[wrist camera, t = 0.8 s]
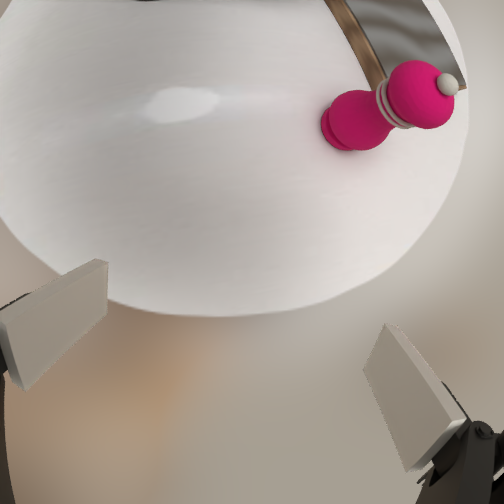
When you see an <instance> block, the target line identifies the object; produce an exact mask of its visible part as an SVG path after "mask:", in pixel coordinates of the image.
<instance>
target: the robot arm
mask: <svg viewBox="0 0 504 504" xmlns="http://www.w3.org/2000/svg"><path fill="white" fill-rule="evenodd" d="M141 1H149V0H141ZM107 282H108V262H105V261H102V260H99V259H94V260H92V261H90V262H88V263H86V264H84V265H82V266H80V267H78V268H76V269H74V270H72V271H70V272H68V273H66V274H64V275H63V276H61V277H59V278H57V279H55V280H53V281H51V282H50V283H48V284H46V285H44V286H42V287H41V288H39V289H37V290H35V291H33V292H31V293H27V294H24V295H23V296H21V297H19V298H17V299H16V300H14V301H12V302H10V304H7V305H5V306H4V307H2V308H0V504H15V500H14V495H13V491H12V486H11V481H10V475H9V469H8V462H7V453H6V442H5V426H4V391H5V390H4V389H5V380H4V376H3V373H4V372H5V371H7V370H8V372H9V374H10V377H11V380H12V382H13V383H14V384H16V385H17V386H18V387H20V388H21V389H23V390H24V391H27V390H28V389H29V388H30V387H31V386H32V385H33V384H34V383H35V382H36V381H37V380H38V379H39V378H40V377H41V376H42V375H43V374H44V373H45V372H46V371H47V370H48V369H49V368H50V367H51V366H52V365H53V364H54V363H55V362H56V361H57V360H58V359H59V358H60V357H61V356H62V355H63V354H64V353H65V352H66V351H67V350H69V349H70V348H71V347H72V346H73V345H74V344H75V343H76V342H77V341H78V340H79V339H80V338H81V337H82V336H83V335H85V334H86V333H87V332H88V331H89V330H90V329H91V328H92V327H93V326H94V325H95V324H97V323H98V322H99V321H100V320H101V319H102V318H103V317H104V316H105V315H107ZM363 371H364V373H365V376H366V378H367V380H368V382H369V384H370V387H371V389H372V391H373V394H374V396H375V398H376V400H377V403H378V405H379V407H380V410H381V412H382V414H383V417H384V419H385V421H386V424H387V426H388V429H389V431H390V434H391V436H392V439H393V441H394V443H395V446H396V449H397V451H398V454H399V456H400V459H401V461H402V464H403V466H404V469H405V472H406V473H408V472H412V471H417V470H421V469H423V467H424V466H425V465H427V464H428V463H429V462H430V460H432V462H433V464H434V466H433V467H432V468H431V469H430V470H429V471H428V472H426V473H425V474H424V475H423V476H422V477H421V478H420V479H419V480H418V482H417V484H419V483H420V482H421V481H422V480H424V479H425V482H424V483H423V484H422V486H423V487H422V490H421V492H420V495H419V497H418V499H417V502H416V504H504V473H503V474H502V475H501V476H500V477H499V478H498V479H497V480H495V481H494V479H493V476H494V475H495V474H496V473H497V472H498V471H499V470H500V469H501V468H502V467H503V466H504V430H503V431H502V433H501V434H499V433H498V434H497V433H494V431H493V430H492V428H491V427H490V426H489V425H488V424H486V423H484V422H482V421H474V422H472V421H471V420H470V418H469V417H468V415H467V414H466V413H465V411H464V409H463V408H462V407H461V405H460V404H459V402H457V401H456V398H455V397H454V395H452V393H451V391H450V390H449V389H448V387H447V386H446V385H445V384H444V383H443V382H442V381H440V380H439V378H438V377H437V376H436V374H435V373H434V372H433V370H432V369H431V368H430V366H429V365H428V364H427V362H426V361H425V360H424V359H423V357H422V356H421V355H420V353H419V352H418V351H417V349H416V348H415V347H414V346H413V345H412V343H411V342H410V341H409V339H408V338H407V337H406V336H405V334H404V333H403V332H402V331H401V330H400V328H399V327H398V326H397V325H392V324H385V323H384V325H383V327H382V330H381V332H380V334H379V337H378V339H377V341H376V343H375V346H374V348H373V350H372V352H371V355H370V356H369V358H368V360H367V363H366V364H365V367H364V369H363Z"/></svg>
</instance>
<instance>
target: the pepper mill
mask: <svg viewBox="0 0 504 504" xmlns="http://www.w3.org/2000/svg"><path fill="white" fill-rule="evenodd" d="M458 89H459V85H458V82H457V80H456V79H455V78H454V77H453V76H452V75H450V74H447V73H443V74H442V73H441V71H439V70H438V69H437V68H436V67H434V66H433V65H431V64H429V63H427V62H424V61H420V60H409V61H406V62H403V63H401V64H399V65H398V66H397V67H395V68H394V70H393V71H392V73H391V75H390V77H388V78H387V79H385V80H383V81H381V82H380V84H379V85H378V87H377V90H374V91H364V90H353V91H348V92H346V93H343V94H341V95H339V96H338V97H337V98H336V99H335V100H334V101H333V103H332V105H331V107H329V108H328V109H327V110H326V111H325V112H324V114H323V116H322V120H321V128H322V132H323V134H324V136H325V138H326V139H327V141H328V142H329V143H330V144H331V145H333V146H334V147H336V148H338V149H340V150H347V151H348V150H353V149H355V150H369V149H372V148H374V147H376V146H378V145H379V144H381V143H382V142H383V141H384V140H385V139H386V137H387V136H388V134H389V132H390V131H391V130H392V129H393V128H395V127H398V128H401V129H409V128H411V127H419V128H423V129H432V128H436V127H439V126H441V125H443V124H444V123H446V122H447V121H448V120H449V118H450V117H451V115H452V113H453V109H454V95H455V94H456V93H457V92H458Z"/></svg>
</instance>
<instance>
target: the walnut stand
mask: <svg viewBox="0 0 504 504" xmlns="http://www.w3.org/2000/svg"><path fill="white" fill-rule="evenodd" d="M324 1H325V2H326V4H327V5H328V7H329V9H330V10H331V12H332V13H333V15H334V17H335V18H336V20H337V22H338V23H339V25H340V27H341V29H342V30H343V32H344V34H345V36H346V38H347V39H348V41H349V43H350V45H351V47H352V49H353V51H354V53H355V55H356V57H357V59H358V61H359V63H360V65H361V67H362V69H363V71H364V73H365V76H366V78H367V80H368V82H369V85H370V87H371V89H372V91H374V90H377V87H378V85H379V84H380V82H381V81H383V80H385V79H387V78H388V77H390V75H391V73H392V71H393V70H394V68H395V67H397V66H398V65H399V64H401V63H403V62H406V61H409V60H420V61H424V62H427V63H429V64H431V65H433V66H434V67H436V68H437V69H438V70H439V71H441V73H442V74H443V73H447V74H450V75H452V76H453V77H454V78H455V79H456V80H457V82H458V85H459V89H458V91H459V90H462V89H466V88H467V87H466V83H465V80H464V78H463V75H462V73H461V71H460V68H459V66H458V64H457V62H456V60H455V58H454V55H453V53H452V51H451V49H450V47H449V45H448V43H447V42H446V40H445V38H444V36H443V34H442V32H441V31H440V29H439V27H438V25H437V24H436V22H435V20H434V19H433V17H432V15H431V14H430V12H429V11H428V9H427V7H426V6H425V4H424V3H423V1H422V0H324Z"/></svg>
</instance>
